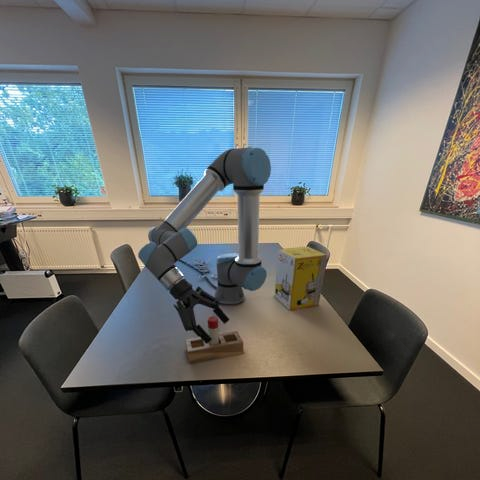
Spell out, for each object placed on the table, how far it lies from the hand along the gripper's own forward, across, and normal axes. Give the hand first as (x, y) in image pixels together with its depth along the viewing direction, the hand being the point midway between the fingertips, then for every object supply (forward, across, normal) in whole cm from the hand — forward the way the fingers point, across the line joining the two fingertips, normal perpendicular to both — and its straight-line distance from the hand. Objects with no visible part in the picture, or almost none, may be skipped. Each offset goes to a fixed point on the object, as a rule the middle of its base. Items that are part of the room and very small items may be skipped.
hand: (218, 331), depth 89 cm
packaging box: (+19, +54, -5) cm, 57 cm away
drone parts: (-24, +79, +38) cm, 91 cm away
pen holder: (+5, 0, +8) cm, 10 cm away
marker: (+5, 0, +8) cm, 10 cm away
